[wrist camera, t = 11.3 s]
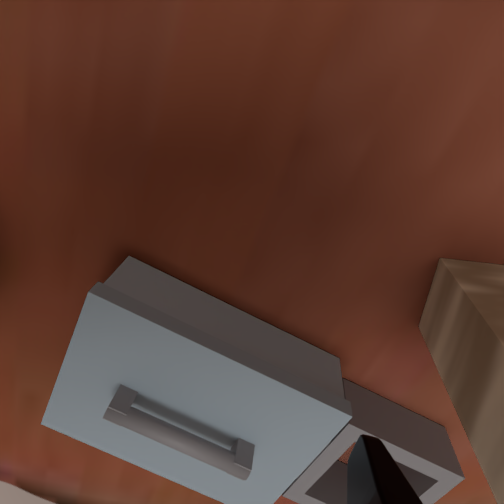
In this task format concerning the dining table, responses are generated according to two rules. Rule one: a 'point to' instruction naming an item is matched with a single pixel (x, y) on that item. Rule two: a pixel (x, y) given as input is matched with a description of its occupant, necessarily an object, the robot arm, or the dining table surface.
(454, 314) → the wooden block
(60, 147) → the dining table surface
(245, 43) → the dining table surface
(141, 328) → the toolbox
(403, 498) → the robot arm
